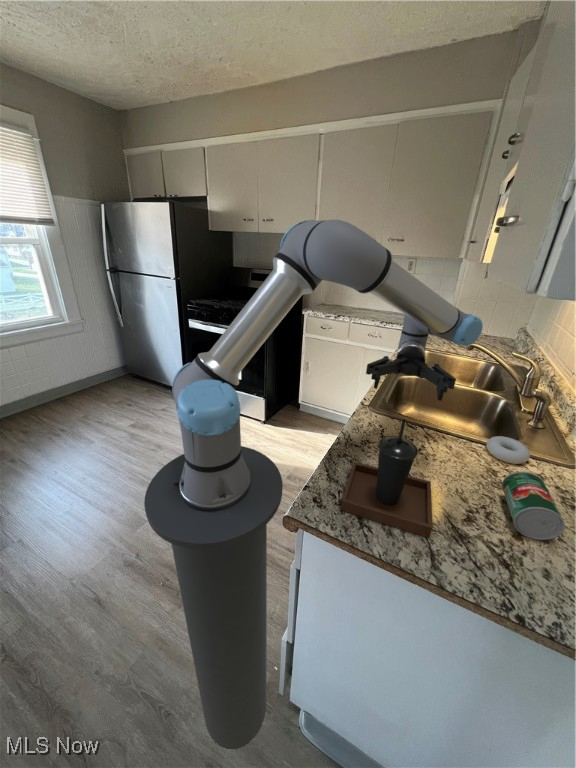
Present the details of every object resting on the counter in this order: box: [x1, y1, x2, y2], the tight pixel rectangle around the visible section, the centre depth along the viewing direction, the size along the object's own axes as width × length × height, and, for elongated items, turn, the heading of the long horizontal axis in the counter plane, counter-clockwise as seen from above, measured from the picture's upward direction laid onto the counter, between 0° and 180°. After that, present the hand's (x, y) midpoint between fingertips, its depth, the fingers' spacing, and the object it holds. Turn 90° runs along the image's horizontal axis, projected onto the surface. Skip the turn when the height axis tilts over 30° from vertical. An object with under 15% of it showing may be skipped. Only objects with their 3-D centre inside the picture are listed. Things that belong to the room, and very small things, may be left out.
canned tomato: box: [501, 471, 566, 541], centre depth 64 cm, size 8×8×11 cm
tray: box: [340, 461, 433, 539], centre depth 69 cm, size 18×14×3 cm
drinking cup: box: [376, 418, 419, 506], centre depth 65 cm, size 8×8×20 cm
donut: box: [485, 435, 531, 465], centre depth 85 cm, size 10×4×10 cm
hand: (407, 388), depth 69 cm, fingers open, 13 cm apart
